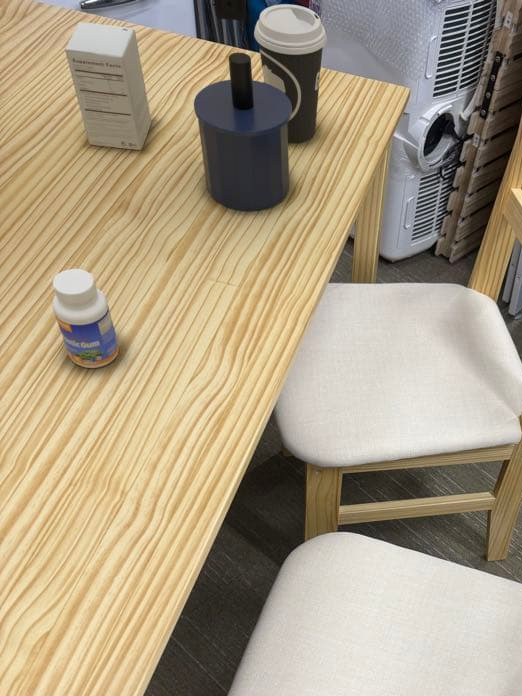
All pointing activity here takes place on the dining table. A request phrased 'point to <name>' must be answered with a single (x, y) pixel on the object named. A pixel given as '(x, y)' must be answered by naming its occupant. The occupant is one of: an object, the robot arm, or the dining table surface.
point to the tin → (246, 168)
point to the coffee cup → (293, 61)
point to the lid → (242, 103)
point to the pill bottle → (84, 319)
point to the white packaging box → (109, 85)
